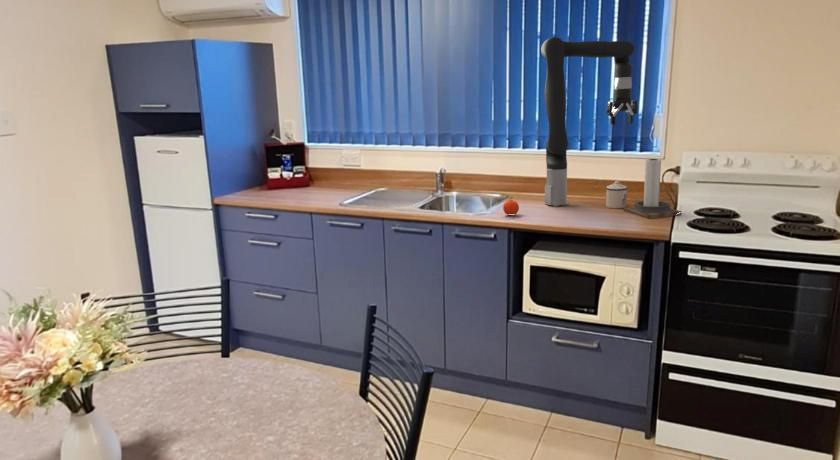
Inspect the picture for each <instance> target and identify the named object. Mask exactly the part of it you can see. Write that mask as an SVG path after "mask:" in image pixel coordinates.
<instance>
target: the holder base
mask: <svg viewBox="0 0 840 460" xmlns="http://www.w3.org/2000/svg"><path fill="white" fill-rule="evenodd" d="M623 212H626V213H629V214H631V215H636V216H638V217H641V218H645V219H648V220H649V219H656V218H657V219H658V218H666V217H674V216H675V215H676V214H677V213H679V212H681V213H682V211H681V210H678V209H675V208H671V203H669V202H667V201H662V200H659V207H649V206H644V200H640V201H635V202H634V206H626V207H625V208H623ZM676 216H677V215H676Z"/></svg>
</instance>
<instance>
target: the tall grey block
mask: <svg viewBox="0 0 840 460" xmlns="http://www.w3.org/2000/svg"><path fill="white" fill-rule="evenodd" d="M644 164H645V165H644V166H645V167H644V168H645V169H644V184H643V185H644V187H643V189H644V190H643V194H644V195H643V201H644V206H649V207H659V201H660V189H661V187H660V186H661V184H660V183H661V168H662V159H660V158H648V159H645V163H644Z"/></svg>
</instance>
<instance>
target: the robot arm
mask: <svg viewBox="0 0 840 460" xmlns="http://www.w3.org/2000/svg"><path fill="white" fill-rule="evenodd" d="M540 47H541V48H540V51H541V55H542V56H543V57H544V58H545V62H546V64H545V65H546V78H545V83H544V105H545V112H546V117H547V122H548V136H547V137H548V138H547V139H546V145H545V147H546V148H545V150H546V151H545V162H546V163H545V164H546V183H545V184H544V204H545V203H546V204H548V205H554V206H553V207H560V206H559V205H564V206H566V205H567V203H568V202H567V201H568V200H567V191H568V189H567V188H568V187H567V186H568V159H567V149H568V147H569V140H568V135H567V127H566V114H567V113H566V112H567V93H566V92H567V91H566V81H565V79H566V78H565V70H564V69H565V68H564V66H565V58H568V57H569V58H570V57H579V58H581V57H582V58H599V59H600V58H602V59H603V58H604V59H605V58H613V60H614V68H615V69H614V81H613V101H608V102H607V103H606V116H609V117H610V125H611V126H616V115H617V114H618V113H619V112H624V111H625V112H626V113H627V124H629V125H630V124H631V125H632V124H633V121H634V116H635V115H636V114H638V101H637V100H635V99H634V100H631V99H632V88H633V87H632V85H633V83H632V73H633V72H632V71H633V69H632V65H631V63H630V57H631V56H632V55H633V54H634V52H635V45H634V43H633V42H632V41H629V40H618V41H617V40H615V41H609V40H608V41H607V40H588V41H587V40H586V41H564V40H563V39H561V38H559V37H557V36H553V37H550V38H547V39H546V40H545V41H544V42H543V43H542V45H541V46H540ZM546 204H545V205H546ZM548 205H547V206H548ZM557 205H558V206H557Z"/></svg>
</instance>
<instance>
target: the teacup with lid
mask: <svg viewBox="0 0 840 460" xmlns="http://www.w3.org/2000/svg"><path fill="white" fill-rule="evenodd" d="M605 189H606V195H605V196H606V197H605V199H606V200H605V206H606V207H607V208H608V209H624V208H625V207H627V193H628V192H627V191H628V187H627V185H625V184H622V183H620V181H619V180H616V181H614V183H611V184H610V185H607V186H606V187H605Z"/></svg>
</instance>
